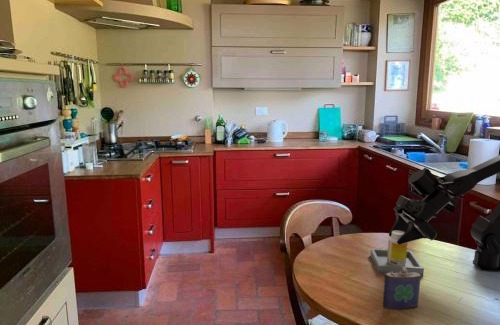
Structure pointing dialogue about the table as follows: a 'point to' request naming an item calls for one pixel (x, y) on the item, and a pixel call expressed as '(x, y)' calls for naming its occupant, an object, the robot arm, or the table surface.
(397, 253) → the supplement bottle
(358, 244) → the table surface
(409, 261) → the tray
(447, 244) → the table surface
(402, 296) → the blue hip flask
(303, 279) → the table surface
